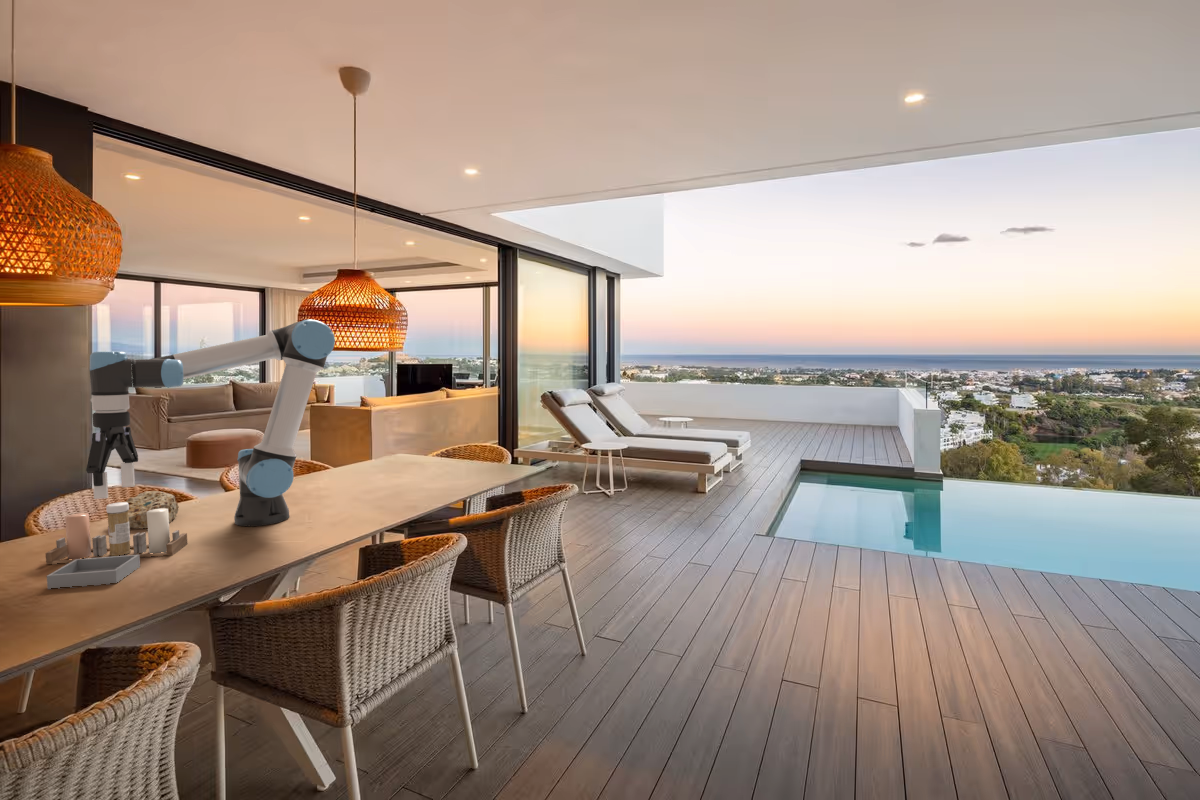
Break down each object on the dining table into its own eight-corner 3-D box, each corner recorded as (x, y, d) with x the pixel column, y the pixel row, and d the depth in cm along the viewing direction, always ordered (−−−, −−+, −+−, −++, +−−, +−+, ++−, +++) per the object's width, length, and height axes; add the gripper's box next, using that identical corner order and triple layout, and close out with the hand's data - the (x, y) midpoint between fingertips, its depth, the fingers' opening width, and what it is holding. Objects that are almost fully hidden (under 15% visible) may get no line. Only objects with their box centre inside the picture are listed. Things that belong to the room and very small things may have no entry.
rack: (187, 543, 166) (186, 526, 166) (172, 555, 157) (171, 536, 157) (69, 552, 159) (68, 533, 159) (46, 564, 150) (44, 545, 150)
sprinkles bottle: (107, 554, 158) (104, 503, 157) (129, 549, 161) (125, 500, 160) (111, 558, 155) (108, 506, 154) (133, 553, 158) (130, 503, 157)
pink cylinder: (95, 553, 159) (92, 512, 158) (85, 559, 154) (82, 517, 153) (74, 554, 158) (71, 513, 157) (64, 560, 153) (60, 518, 152)
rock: (171, 530, 183) (159, 500, 180) (116, 546, 178) (102, 516, 175) (188, 507, 201) (177, 479, 199) (138, 521, 197) (126, 493, 194)
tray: (140, 566, 149) (139, 554, 148) (116, 583, 138) (115, 570, 138) (76, 571, 145) (75, 559, 145) (47, 589, 135) (46, 575, 134)
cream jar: (173, 547, 163) (171, 507, 162) (166, 553, 159) (163, 512, 158) (153, 549, 162) (151, 509, 161) (145, 554, 158) (143, 513, 157)
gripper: (119, 407, 166) (122, 483, 168) (64, 416, 142) (69, 504, 144) (150, 406, 168) (154, 481, 170) (102, 415, 144) (106, 502, 146)
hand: (115, 492), depth 157 cm, fingers open, 13 cm apart
